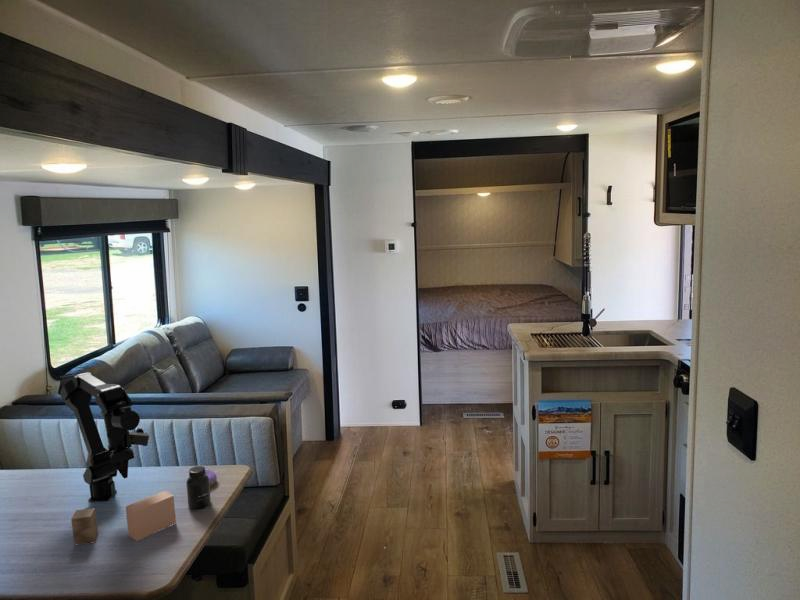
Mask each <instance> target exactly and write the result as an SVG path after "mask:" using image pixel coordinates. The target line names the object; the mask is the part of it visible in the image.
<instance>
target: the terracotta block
mask: <svg viewBox="0 0 800 600" xmlns="http://www.w3.org/2000/svg"><path fill="white" fill-rule="evenodd" d="M125 514H126V523H127V532H128V536H129V537H130V536H131V539H133V538H134V539H135V540H134V539H133V540H134V541H136V542H139V541H141V540H143V539H145V538H144V537H146V536H148V535H150V534H152V533H154V532H156V531H158V530H161V529H163V528H165V529H167V528H166V527H168V526H170V525H172V524H174V523H176V524H177V518H176V508H175V496H174V495H173V494H171V493H170V492H169V491H166V490H163V491H161V492H159V493H158V492H157V493H156V494H154V495H150V496H148V497H146V498H144V499H143V498H142V499H141V500H138V501H136V502H133V503H130V504H129V505H126V506H125ZM174 525H175V524H174ZM172 526H173V525H172ZM170 527H171V526H170ZM168 528H169V527H168ZM163 530H164V529H163ZM161 531H162V530H161ZM154 534H155V533H154ZM152 535H153V534H152ZM150 536H151V535H150ZM148 537H149V536H148ZM142 538H143V539H142ZM146 538H147V537H146ZM140 539H141V540H140ZM138 540H139V541H138Z"/></svg>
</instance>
